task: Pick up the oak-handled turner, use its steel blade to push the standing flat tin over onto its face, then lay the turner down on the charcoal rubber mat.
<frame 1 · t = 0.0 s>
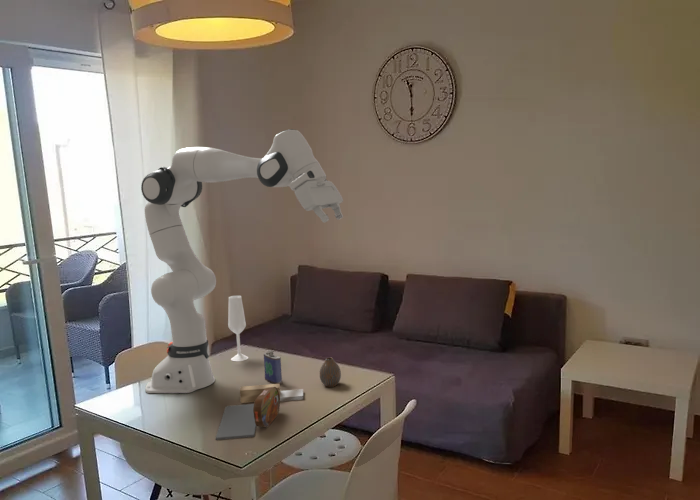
hand: (333, 220, 170), 54 cm above the table, tool tilted 30°, fingers open, 8 cm apart
tin: (267, 421, 165), on the table
vase: (330, 385, 191), on the table
flask: (273, 381, 198), on the table
turner: (260, 399, 182), on the table
champagne flute: (239, 359, 225), on the table
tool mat: (239, 421, 165), on the table
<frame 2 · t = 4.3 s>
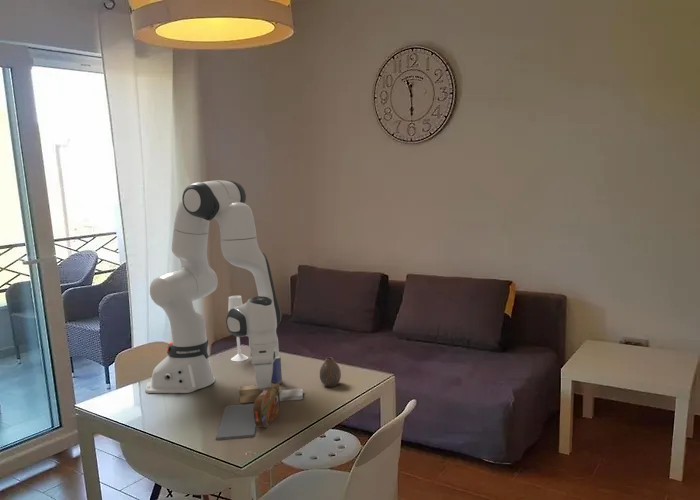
hand: (267, 393, 182), 2 cm above the table, tool pointing down, fingers closed on turner, 3 cm apart
turner: (260, 399, 182), on the table, touching gripper
everything else where it was.
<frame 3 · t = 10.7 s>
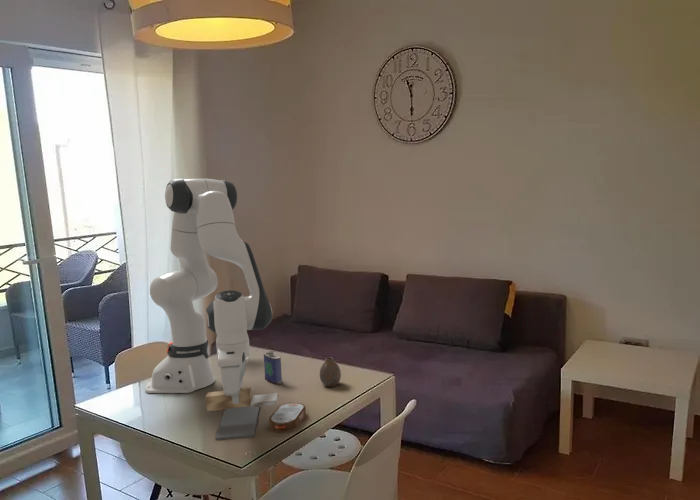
hand: (237, 399, 162), 7 cm above the table, tool pointing down, fingers closed on turner, 3 cm apart
tin: (272, 415, 164), point 2 cm above the table
turner: (230, 406, 162), point 5 cm above the table, touching gripper
everything else where it was.
when the fingers open (4 cm above the table, at t = 15.6 s): turner drops 1 cm, resting on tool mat.
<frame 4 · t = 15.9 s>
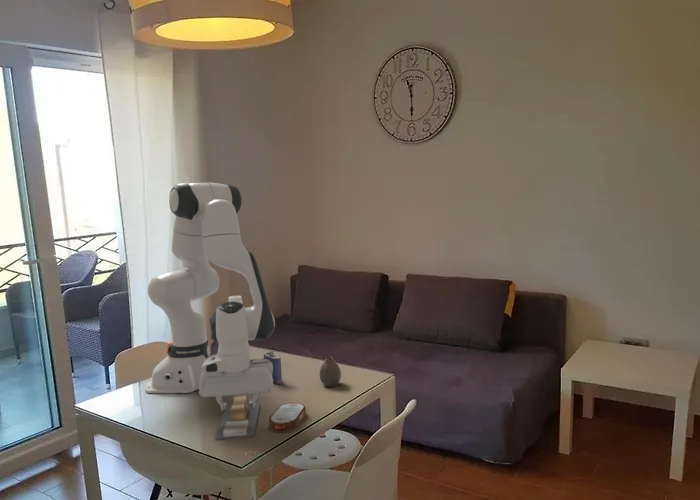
hand: (238, 409, 165), 4 cm above the table, tool pointing down, fingers open, 6 cm apart
turner: (239, 416, 167), point 1 cm above the table, touching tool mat
everything else where it was.
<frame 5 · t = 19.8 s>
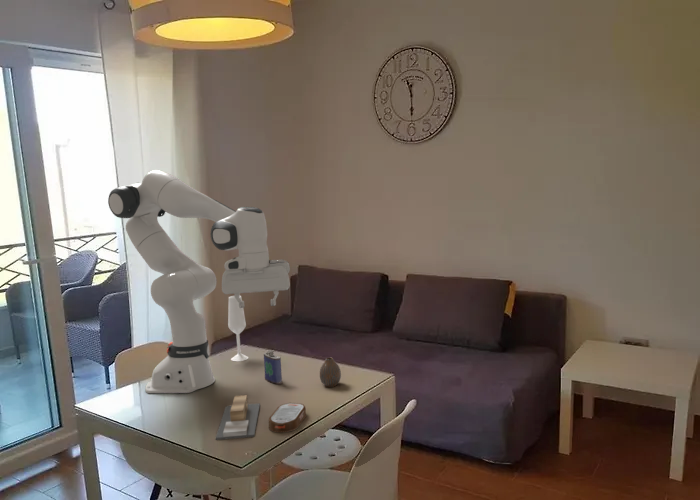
hand: (257, 306, 178), 29 cm above the table, tool pointing down, fingers open, 8 cm apart
nothing on the table moved.
at the end: tin tilted 94°; turner inside the target area on the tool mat (2.1 cm from its centre), point 0.6 cm above the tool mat's base; the gripper is holding nothing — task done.
